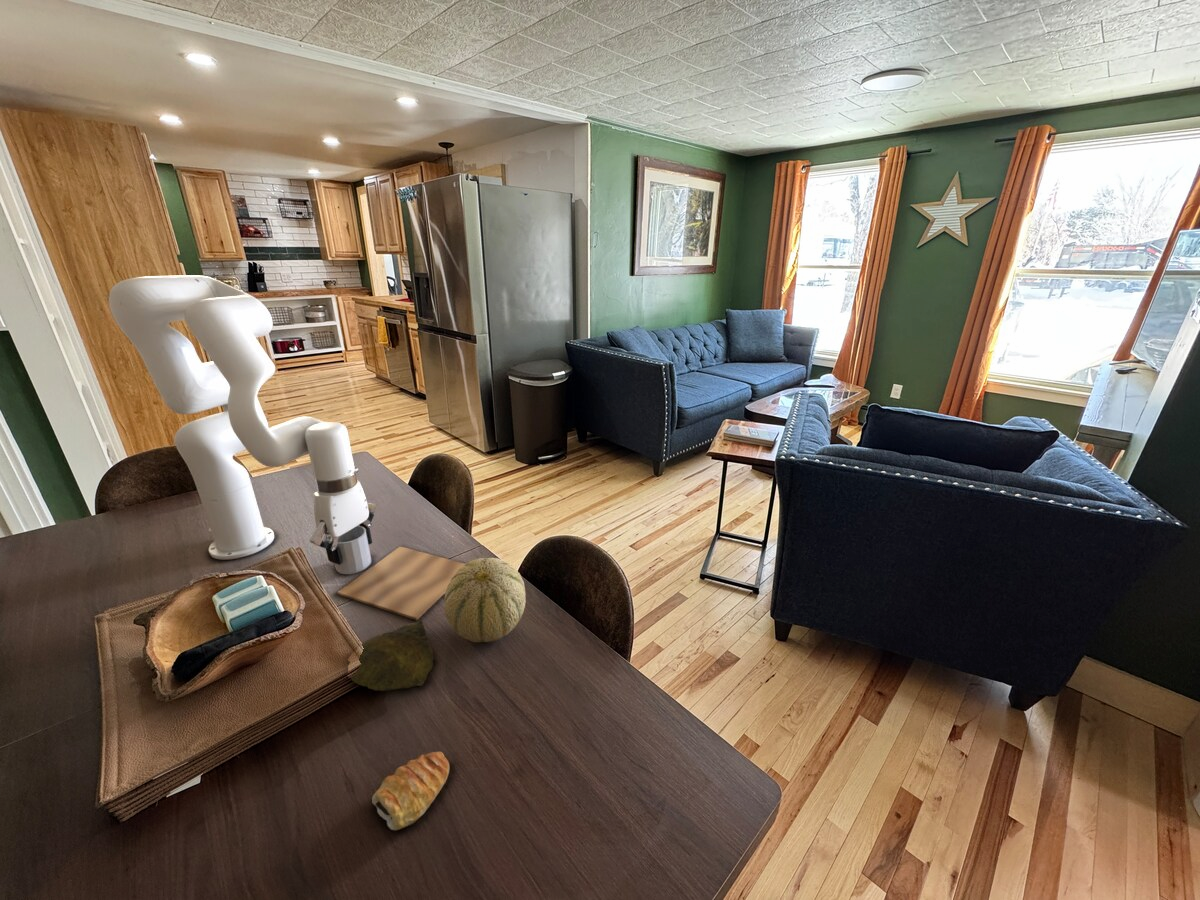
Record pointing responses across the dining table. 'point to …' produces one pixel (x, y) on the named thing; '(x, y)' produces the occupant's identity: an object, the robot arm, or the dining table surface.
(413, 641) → the pottery fragment
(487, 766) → the dining table surface
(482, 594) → the cantaloupe
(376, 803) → the pastry
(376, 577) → the board
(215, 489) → the robot arm
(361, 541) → the pot
